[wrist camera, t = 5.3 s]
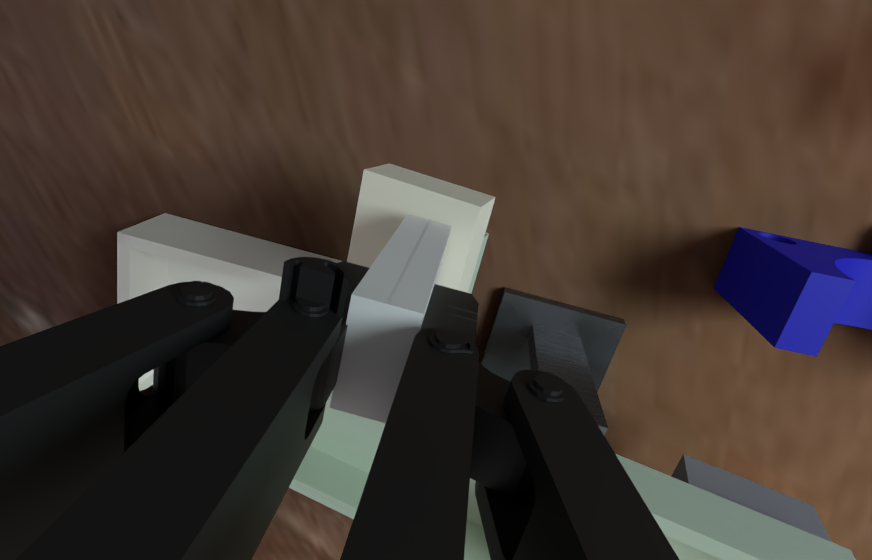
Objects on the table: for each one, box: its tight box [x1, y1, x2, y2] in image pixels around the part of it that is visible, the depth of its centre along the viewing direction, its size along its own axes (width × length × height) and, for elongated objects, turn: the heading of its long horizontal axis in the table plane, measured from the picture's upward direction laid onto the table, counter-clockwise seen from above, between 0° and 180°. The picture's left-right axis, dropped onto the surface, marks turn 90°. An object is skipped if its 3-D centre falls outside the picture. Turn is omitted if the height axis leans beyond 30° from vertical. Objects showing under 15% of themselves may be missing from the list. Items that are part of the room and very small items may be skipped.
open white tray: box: [117, 213, 342, 448], centre depth 26 cm, size 10×9×4 cm
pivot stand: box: [481, 288, 626, 436], centre depth 24 cm, size 6×11×8 cm, turn 166°
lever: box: [289, 164, 856, 560], centre depth 20 cm, size 20×14×5 cm
